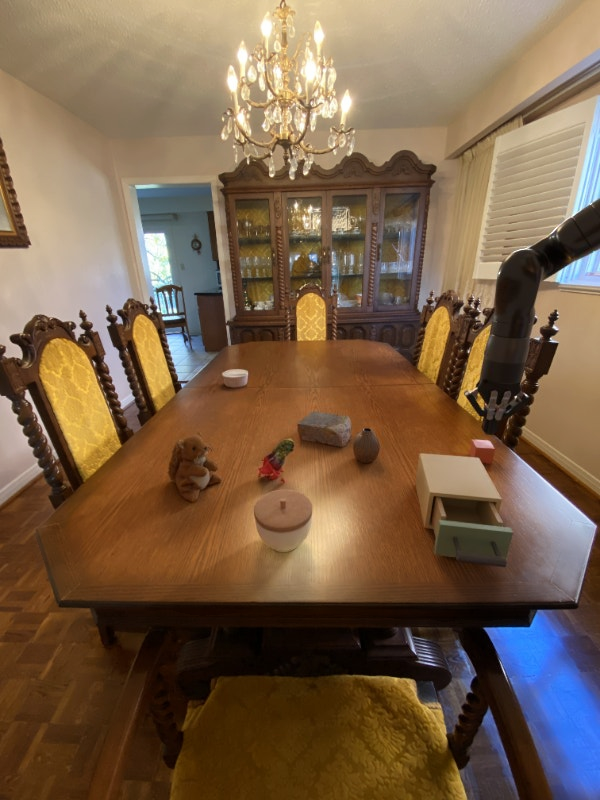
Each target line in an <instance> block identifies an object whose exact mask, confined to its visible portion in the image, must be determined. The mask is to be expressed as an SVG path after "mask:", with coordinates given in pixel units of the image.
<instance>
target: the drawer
mask: <svg viewBox="0 0 600 800" xmlns="http://www.w3.org/2000/svg"><path fill="white" fill-rule="evenodd" d="M430 517H431V521H432V525H433V529H432V530H433V534H434V538H435V541H434V546H433V552H434V553H433V554H434V555H435V556H440V557H441V556H442V557H446V558H447V557H449V558H455V559H456V561H457V562H461V563H469V564H475V565H483V566H491V567H499V568H506V567H507V557H508V554H509V551H510V546H511V543H512V539H513V535H514V531H513V530H512V528H511V527H507V526H503V524H504V522H503V520H502V518H501V516H500V513H498V512H497V510H496V508H495V506H494V504H493V502H489V501H479V500H469V499H459V498H449V497H439V496H434V497H433V504H432V510H431V516H430Z"/></svg>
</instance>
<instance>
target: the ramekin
mask: <svg viewBox="0 0 600 800" xmlns="http://www.w3.org/2000/svg"><path fill="white" fill-rule="evenodd" d="M221 377H222V379H223V383H224V385H225V386H226V387H227V388H231V389H233V388H234V389H235V388H237V389H238V388H242V387H245V386H246V385H247V384H248V377H249V371H248V370H247V369H242V368H241V369H240V368H235V369H228V370H225V371H222V373H221Z"/></svg>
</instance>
